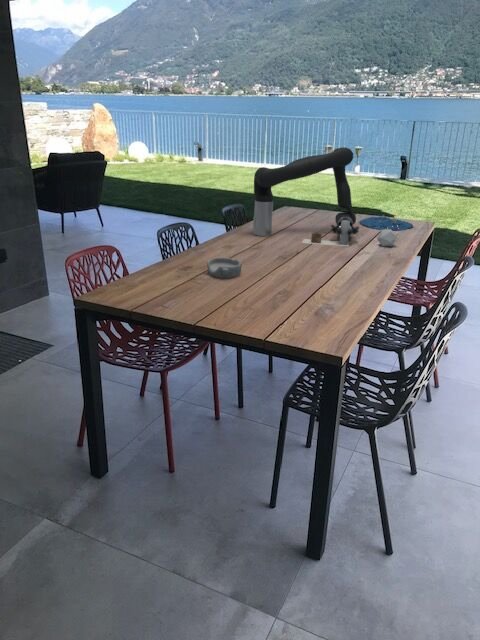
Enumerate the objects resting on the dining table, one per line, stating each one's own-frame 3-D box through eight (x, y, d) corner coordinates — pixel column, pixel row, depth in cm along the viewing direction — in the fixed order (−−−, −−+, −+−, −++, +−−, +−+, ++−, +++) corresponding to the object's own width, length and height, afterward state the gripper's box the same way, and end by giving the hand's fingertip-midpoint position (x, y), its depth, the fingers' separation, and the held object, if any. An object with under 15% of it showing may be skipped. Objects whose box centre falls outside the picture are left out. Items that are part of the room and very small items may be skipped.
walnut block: (311, 242, 256) (311, 233, 254) (311, 240, 260) (312, 231, 258) (320, 243, 255) (321, 234, 253) (321, 241, 259) (321, 232, 257)
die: (393, 250, 255) (402, 232, 256) (378, 241, 254) (388, 223, 254) (385, 251, 263) (394, 235, 264) (371, 243, 262) (380, 226, 262)
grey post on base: (301, 244, 255) (303, 219, 251) (303, 240, 262) (305, 216, 258) (348, 248, 251) (351, 223, 247) (348, 244, 259) (351, 219, 254)
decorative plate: (419, 234, 292) (421, 225, 290) (365, 232, 292) (366, 222, 290) (405, 221, 319) (406, 212, 317) (355, 218, 319) (356, 210, 317)
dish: (229, 281, 203) (229, 269, 201) (199, 274, 209) (199, 262, 207) (248, 272, 214) (249, 260, 212) (220, 266, 221) (220, 254, 219)
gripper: (331, 216, 266) (330, 223, 250) (360, 218, 263) (360, 226, 248) (330, 231, 268) (328, 239, 253) (358, 233, 266) (359, 241, 250)
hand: (344, 232), depth 250 cm, fingers closed on grey post on base, 4 cm apart
